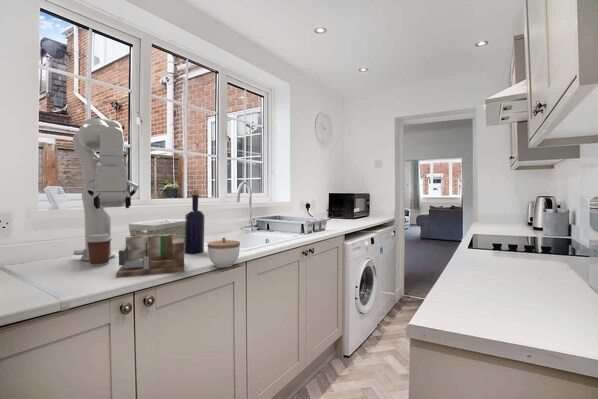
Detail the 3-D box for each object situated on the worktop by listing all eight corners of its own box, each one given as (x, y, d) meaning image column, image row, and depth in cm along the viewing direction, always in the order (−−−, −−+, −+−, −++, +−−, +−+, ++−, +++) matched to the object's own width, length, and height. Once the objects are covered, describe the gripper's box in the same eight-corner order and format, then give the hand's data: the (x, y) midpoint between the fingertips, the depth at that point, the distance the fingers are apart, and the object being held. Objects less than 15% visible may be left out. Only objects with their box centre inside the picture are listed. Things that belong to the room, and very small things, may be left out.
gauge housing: (116, 277, 109) (115, 242, 109) (123, 267, 123) (123, 236, 123) (184, 271, 117) (184, 239, 117) (183, 263, 131) (183, 234, 131)
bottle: (208, 251, 155) (209, 190, 154) (192, 254, 148) (193, 190, 147) (195, 249, 160) (196, 189, 159) (180, 252, 153) (181, 189, 152)
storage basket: (154, 256, 145) (153, 224, 144) (127, 253, 150) (126, 222, 150) (189, 247, 167) (188, 219, 167) (164, 245, 173) (164, 218, 172)
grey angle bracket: (118, 271, 110) (117, 251, 110) (123, 264, 121) (123, 246, 121) (142, 269, 113) (142, 250, 113) (145, 262, 123) (145, 245, 123)
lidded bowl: (232, 269, 120) (232, 240, 120) (201, 268, 123) (201, 239, 122) (244, 262, 132) (244, 236, 132) (216, 261, 135) (216, 235, 135)
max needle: (143, 269, 113) (143, 242, 113) (144, 268, 114) (143, 241, 114) (148, 268, 114) (148, 242, 113) (149, 268, 115) (148, 241, 114)
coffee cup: (117, 261, 133) (117, 233, 132) (101, 267, 124) (101, 236, 123) (97, 261, 134) (96, 232, 133) (80, 266, 125) (79, 236, 124)
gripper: (81, 160, 110) (82, 209, 111) (136, 161, 116) (137, 208, 116) (87, 162, 118) (88, 208, 118) (139, 163, 123) (140, 207, 123)
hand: (112, 208), depth 117 cm, fingers open, 9 cm apart
